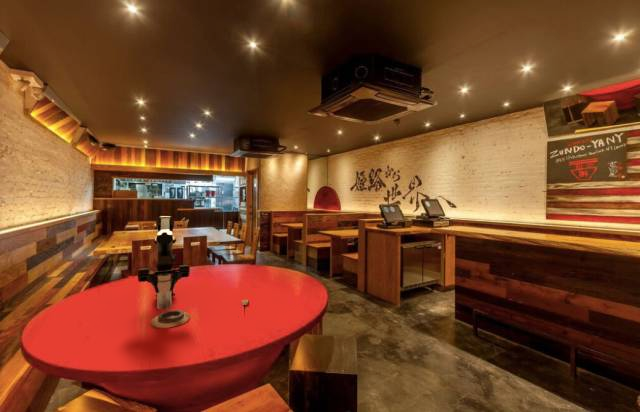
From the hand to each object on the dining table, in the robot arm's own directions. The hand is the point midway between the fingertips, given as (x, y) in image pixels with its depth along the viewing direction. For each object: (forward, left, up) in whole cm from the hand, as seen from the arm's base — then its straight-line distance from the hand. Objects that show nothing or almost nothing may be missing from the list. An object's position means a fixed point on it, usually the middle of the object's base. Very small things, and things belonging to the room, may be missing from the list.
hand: (164, 291), depth 115 cm
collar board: (-3, 0, -12) cm, 13 cm away
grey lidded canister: (-1, -1, -7) cm, 7 cm away
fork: (-28, +15, -13) cm, 34 cm away
